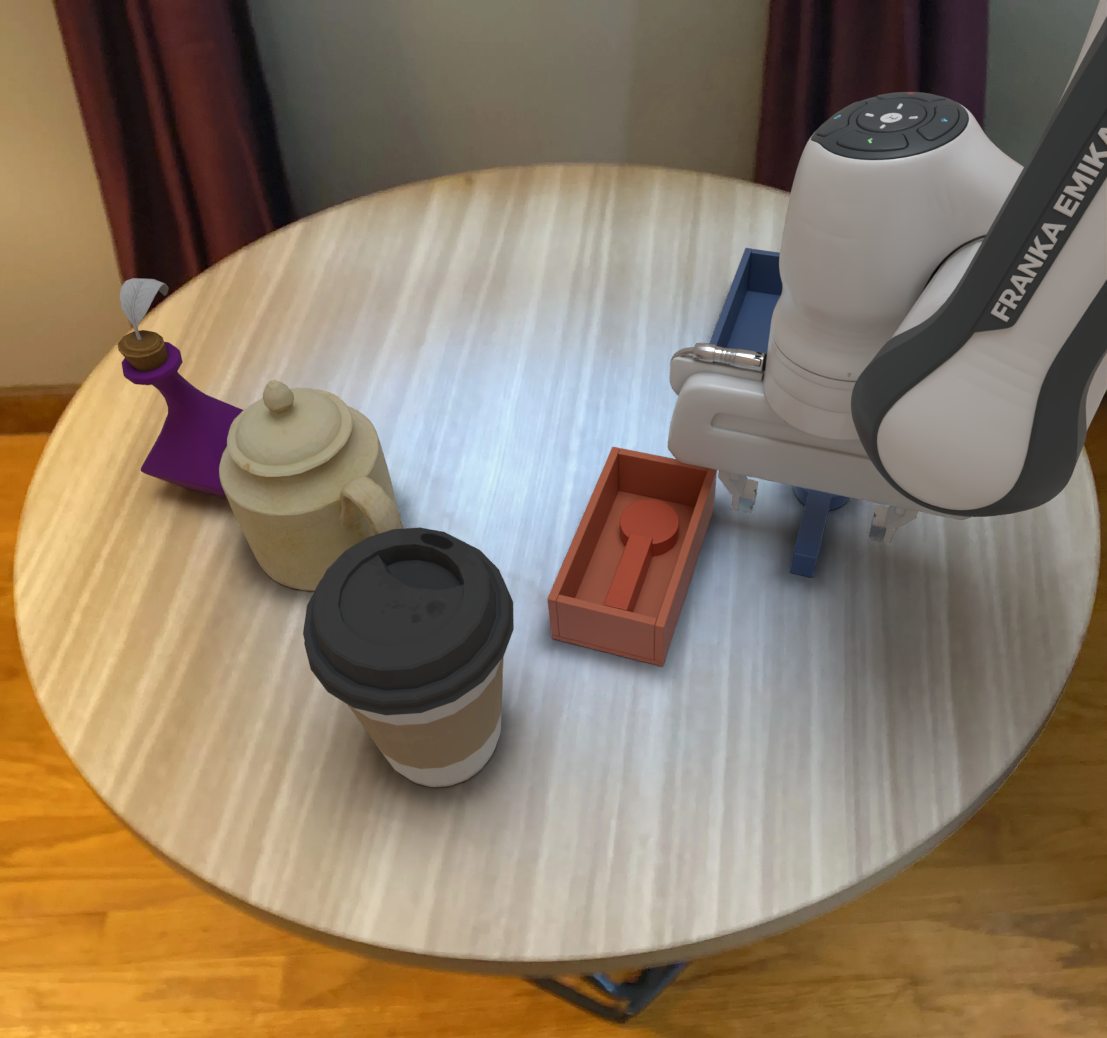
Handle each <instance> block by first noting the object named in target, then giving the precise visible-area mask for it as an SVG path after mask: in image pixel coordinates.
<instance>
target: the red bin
mask: <svg viewBox="0 0 1107 1038" xmlns="http://www.w3.org/2000/svg"><path fill="white" fill-rule="evenodd" d="M717 477H718V470H715V469H710V468H705V467H700V466H695V465H690V464H685V463H681V462H679V461H678V460H677V459H676V458H674V457H667V456H662V455H657V454H652V453H647V452H643V451H638V450H632V449H627V448H623V447H618V446H611V448H610V452H609V453H608V455H607V458H606V461H605V462H604V465H603V467H602V470H601V472H600V475H599V477H598V479H597V482H596V484H595V486H594V489H593V490H592V493H591V495H590V497H589V500H588V502H587V505H586V507H585V510H584V512H583V514H582V516H581V519H580V521H579V524H578V526H577V528H576V530H575V533H574V536H573V538H572V540H571V543H570V545H569V547H568V550H567V552H566V554H565V556H564V559H563V561H562V564H561V565H560V568H559V571H558V573H557V574H556V577H555V580H554V582H553V584H552V587H551V590H550V591H549V594H548V595H547V599H546V600H547V607H548V608H547V609H548V616H549V624H550V633H551V639H552V640H557V641H561V642H564V643H568V644H572V645H575V646H579V647H584V648H588V649H592V650H596V651H599V652H604V653H607V654H611V655H616V656H619V657H623V658H626V659H627V658H628V659H632V660H635V661H640V662H643V663H647V664H651V665H655V666H659V667H664V665H665V661H666V659H667V655H668V652H669V649H670V646H671V643H672V640H673V637H674V633H675V631H676V628H677V624H678V622H679V618H680V616H681V612H682V609H683V606H684V603H685V601H686V598H687V597H686V596H687V593H688V591H689V587H690V584H691V582H692V579H693V576H694V573H695V569H696V567H697V566H696V565H697V562H698V559H699V557H700V554H701V550H702V548H703V545H704V541H705V538H706V535H707V532H708V530H709V527H710V526H709V525H710V523H711V519H712V517H713V513H714V511H715V502H716V501H715V500H716V488H717ZM645 499H654V500H659V501H662V502H665V503H667V504H668V505H670V506H671V507H672V508H673V509H674V510H675V511H676V513H677V515H678V517H679V536H678V540H677V542H676V544H675V545H674V546H673V547H672V548H671V549H670V550H669V551H667V552H665V553H663V554H660V555H656V556H652V560H651V563H650V566H649V568H648V571H647V574H646V577H645V580H644V583H643V586H642V588H641V591H640V594H639V597H638V600H637V603H636V605H635V608H634V611H633V612H630V611H625V610H621V609H617V608H613V607H609V606H605V605H604V602H605V600H606V597H607V594H608V592H609V589H610V586H611V584H612V581H613V578H614V576H615V573H616V570H617V568H618V565H619V562H620V560H621V557H622V554H623V552H624V549H625V545H624V544H623V542H622V540H621V538H620V517H621V514H622V512H623V511H624V510H625V508H626V507H628V506H629V505H630V504H632V503H634V502H636V501H640V500H645Z"/></svg>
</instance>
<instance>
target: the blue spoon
mask: <svg viewBox="0 0 1107 1038" xmlns="http://www.w3.org/2000/svg"><path fill="white" fill-rule="evenodd" d="M792 489H793V493H794V495H795V497H796V498H797V500H798V501H800V503H802V504H804V508H803V513H802V516H801V520H800V524H799V529H798V532H797V536H796V540H795V544H794V548H793V551H792V552H793V553H792V556H791V557H792V558H791V563H790V569H789V573H790V574H794V575H799V576H803V577H808V578H813V577H814V575H815V571H816V566H817V562H818V558H819V554H820V549H821V545H822V541H823V537H824V532H825V527H826V523H827V519H828V515H829V511H831V510H836V509H839V508H842V507H843V506H844V505H845V504H847V503H848V501H849V500H850V499H851V498H850V497H845V496H840V495H836V494H831V493H826V492H821V491H816V490H811V489H807V488H802V487H797V486H792Z"/></svg>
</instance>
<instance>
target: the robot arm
mask: <svg viewBox="0 0 1107 1038" xmlns="http://www.w3.org/2000/svg"><path fill="white" fill-rule="evenodd" d="M1093 15H1094V16H1093V17H1092V21H1091V24H1090V25H1089V29H1088V32H1087V33H1086V36H1085V39H1084V42H1083V45H1082V47H1081V50H1080V53H1079V55H1078V58H1077V60H1076V62H1075V65H1074V67H1073V70H1072V72H1071V74H1070V77H1069V79H1068V82H1067V84H1066V86H1065V88H1064V91H1063V93H1062V95H1061V97H1060V98H1059V99H1060V100H1059V101H1058V104H1057V106H1056V108H1055V110H1054V112H1053V114H1052V116H1051V117H1050V119H1049V121H1048V123H1047V124H1046V127H1045V129H1044V131H1043V132H1042V134H1041V135H1040V138H1039V139H1038V140H1037V143H1036V145H1035V147H1034V148H1033V150H1032V152H1031V153H1030V155H1029V157H1028V159H1027V161H1026V163H1025V164H1024V166H1023V165H1022V164H1020V163H1019V162H1017V161H1016V160H1014V159H1012V158H1011V157H1010V156H1009V155H1007V154H1006V153H1005V152H1003V150H1001V149H1000V148H999V147H998V146H996V144H994V142H993V141H992V140H991V139H990V137H988V136H987V134H985V132H984V130H983V129H982V127H981V125H980V124H979V122H978V121H977V119H976V117H975V116H974V115H973V113H972V112H971V111H970V110H969V109H968V108H966V107H965V106H964V105H962V104H961V103H959V102H957V101H955V100H953V99H951V98H948V97H945V96H941V95H937V94H933V93H928V92H919V91H899V92H897V91H896V92H888V93H882V94H878V95H876V96H873V97H868V98H865V99H862V100H860V101H855V102H853V103H851V104H848V105H847V106H845V107H843V108H841V109H840V110H839V111H837V112H835V113H834V114H833V115H832V116H830V117H829V118H828V119H827V120H825V121H824V122H823V123H822V124H821V125H820V126H819V127H818V128H817V129H816V130H815V131H814V132H813V133H812V135H811V136H810V137H809V139H808V140H807V142H806V144H805V146H804V148H803V150H802V153H801V156H800V158H799V161H798V164H797V168H796V171H795V175H794V178H793V180H792V181H793V182H792V185H791V190H790V195H789V199H788V204H787V208H786V209H787V210H786V213H785V218H784V225H783V230H782V237H781V243H780V249H779V253H780V256H779V271H780V276H781V280H782V286H783V288H782V294H781V296H780V298H779V300H778V302H777V304H776V306H775V308H774V311H773V315H772V319H771V327H770V334H769V342H768V350H767V354H766V353H761V352H755V351H750V350H744V349H728V348H723V347H718V346H717V345H714V344H709V343H710V342H696V343H695V344H694V346H689V347H684V348H681V349H679V350H677V351H676V352H675V353H674V354H673V355H672V357H671V359H670V361H669V377H668V378H669V385H670V387H671V390H672V391H673V392H674V393H675V394H676V395H677V398H676V402H675V405H674V408H673V411H672V415H671V420H670V424H669V428H668V429H669V430H668V435H667V450H668V451H669V453H670V454H671V455H672V456H673V458H674V459H677V460H678V461H679V462H681V463H685V464H690V465H695V466H700V467H705V468H710V469H715V470H717V477H718V480H720V482H721V483H722V484H723V486H724V488H725V489H726V490H727V492H728V493H729V495H731V496H732V497H731V505H730V509H731V510H733V511H737V512H743V513H747V514H753V511H754V506H755V504H756V500H757V497H758V496H757V495H758V490H759V489H758V488H759V481H757V480H758V479H759V480H764V481H768V482H773V483H778V484H783V485H787V486H791V487H793V486H797V487H802V488H807V489H811V490H816V491H821V492H826V493H831V494H836V495H840V496H845V497H850V498H849V499H855V500H861V501H865V502H870V503H874V504H879V505H884V506H888V507H884V506H879V505H875V507H874V510H873V511H874V512H873V516H872V518H871V522H870V527H869V533H868V538H867V539H868V540H872V541H876V542H881V543H885V544H891V542H892V539H893V535H894V531H895V530H896V531H897V530H899V529H900V528H902V527H904V526H905V525H907V524H909V523H911V522H912V521H914V520H915V519H917V517H918V514H919V513H923V514H927V515H932V516H938V517H943V518H947V519H951V520H956V521H966V520H969V519H971V518H986V517H987V518H988V517H997V516H1006V515H1011V514H1017V513H1022V512H1025V511H1029V510H1033V509H1036V508H1038V507H1040V506H1043V505H1045V504H1047V503H1048V502H1050V501H1051V500H1053V499H1054V498H1056V497H1057V496H1058V495H1059V494H1060V493H1062V491H1063V490H1064V489H1065V488H1066V487H1067V486H1068V483H1069V482H1070V481H1071V478H1072V477H1073V474H1074V471H1075V468H1076V466H1077V463H1078V461H1079V458H1080V456H1081V453H1082V451H1083V448H1084V445H1085V443H1086V439H1087V433H1088V429H1089V428H1090V426H1091V423H1092V421H1093V419H1094V417H1095V415H1096V413H1097V411H1098V409H1099V407H1100V404H1101V402H1102V400H1103V397H1104V395H1105V394H1106V391H1107V0H1099V1H1098V4H1097V7H1096V9H1095V13H1094V14H1093ZM749 478H754V479H757V480H754V479H749Z"/></svg>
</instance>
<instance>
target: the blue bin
mask: <svg viewBox="0 0 1107 1038" xmlns="http://www.w3.org/2000/svg"><path fill="white" fill-rule="evenodd" d="M779 256H780V251H779V252H778V251H773V250H772V251H771V250H765V249H756V248H751V247H745V248H744V251H743V253H742V256H741V259H740V261H739V264H738V267H737V268H736V271H735V275H734V277H733V280H732V282H731V285H730V288H729V290H728V293H727V296H726V298H725V301H724V303H723V305H722V309H721V311H720V314H719V317H718V319H717V322H716V324H715V327H714V330H713V332H712V335H711V338H710V340H709V342H708V343H709V344H714V345H717V346H718V347H723V348H728V349H744V350H750V351H755V352H761V353H766V354H767V350H768V342H769V334H770V327H771V319H772V315H773V311H774V308H775V306H776V304H777V302H778V300H779V298H780V296H781V294H782V288H783V286H782V280H781V276H780V271H779Z"/></svg>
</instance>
